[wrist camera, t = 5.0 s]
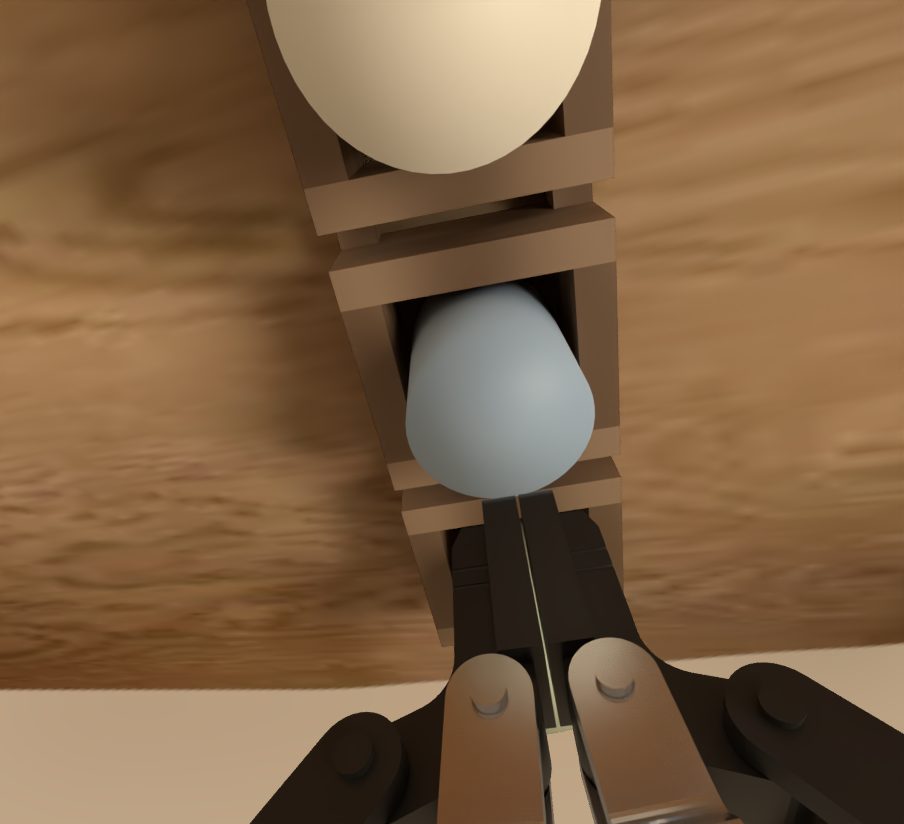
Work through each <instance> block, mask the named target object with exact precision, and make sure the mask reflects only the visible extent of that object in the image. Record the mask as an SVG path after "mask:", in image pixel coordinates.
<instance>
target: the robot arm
mask: <svg viewBox="0 0 904 824" xmlns="http://www.w3.org/2000/svg"><path fill="white" fill-rule="evenodd" d="M518 498H519V504H520V511H521V517H522V523H523V529H524V535H525V541H526V548H527V553H528V559H529V565H530V570H531V576H532V581H533V586H534V592H535V597H536V602H537V607H538V613H539V618H540V623H541V628H542V634H543V639H544V644H545V649H546V655H547V660H548V665H549V670H550V676H551V681H552V686H553V691H554V697H555V702H556V707H557V712H558V718H559V723H560V727H562V726H570V725H572V727H573V731H574V736H575V741H576V746H577V751H578V756H579V764H580V771H581V776H582V780H583V783H584V787H585V791H586V794H587V798H588V801H589V805H590V808H591V812H592V816H593V819H594V823H595V824H904V734H903V733H901V732H900V731H897V730H896V729H894V728H893V727H891V726H889V725H888V724H886V723H884V722H883V721H881V720H879V719H878V718H876V717H874V716H872V715H871V714H869V713H868V712H866V711H864V710H862V709H861V708H859V707H857V706H856V705H854V704H852V703H851V702H849V701H847V700H846V699H844V698H842V697H841V696H839V695H837V694H836V693H834V692H832V691H830V690H829V689H827V688H825V687H824V686H822V685H820V684H819V683H817V682H815V681H814V680H812V679H810V678H809V677H807V676H805V675H803V674H802V673H800V672H798V671H796V670H794V669H791V668H789V667H786V666H783V665H779V664H774V663H753V664H748V665H746V666H743V667H741V668H739V669H738V670H736V671H735V672H734V673H733V674H732V675H731V676H730V678H729V679H725V678H719V677H714V676H707V675H702V674H697V673H691V672H687V671H683V670H680V669H678V668H675V667H673V666H671V665H669V664H667V663H665V662H664V661H662V660H661V659H659V658H658V657H656V656H655V655H654V654H653V653H652V652H651V651H650V650H649V649H648V648H647V647H646V646H645V644H644V643H643V641H642V640H641V638H640V636H639V634H638V632H637V629H636V626H635V624H634V621H633V618H632V615H631V613H630V610H629V607H628V604H627V602H626V599H625V596H624V594H623V591H622V588H621V585H620V583H619V580H618V577H617V575H616V572H615V569H614V568H613V565H612V561H611V558H610V556H609V553H608V550H607V549H606V545H605V542H604V539H603V536H602V534H601V531H600V528H599V526H598V525H597V524H596V523H595V522H594V521H593V520H592V519H591V518H590V517H589V516H588V515H587V514H586V513H585V512H584V511H583V510H578V511H572V512H565V513H559V511H558V508H557V504H556V501H555V497H554V494H553V491H552V489H550V490H544V491H538V492H531V493H525V494H519V495H518ZM482 510H483V520H484V525H483V526H476V527H470V528H463V529H461V530H460V532H459V534H458V536H457V538H456V540H455V543H454V545H453V547H452V571H453V574H452V579H453V617H454V655H455V658H454V667H453V672H452V674H451V677H450V679H449V681H448V683H447V685H446V686H445V688H444V689H443V690H442V692H441V693H440V694H439V695H438V696H437V697H436V698H435V699H434V700H432V701H431V702H430V703H429V704H427V705H425V706H424V707H422V708H420V709H418V710H416V711H414V712H412V713H410V714H408V715H406V716H404V717H402V718H400V719H398V720H396V721H394V722H390V721H389V720H388V719H387V718H386V717H384V716H382V715H380V714H377V713H372V712H360V713H357V714H352V715H350V716H347V717H345V718H343V719H342V720H340V721H338V722H337V723H336V724H335V725H334V726H332V727H331V728H330V729H329V730H328V731H327V732H326V733H325V734H324V736H323V737H322V738H321V739H320V740H319V742H318V743H317V744H316V745H315V746H314V747H313V749H312V750H311V751H310V752H309V754H308V755H307V756H306V757H305V758H304V759H303V761H302V762H301V763H300V764H299V765H298V767H297V768H296V769H295V770H294V771H293V773H292V774H291V775H290V776H289V777H288V779H287V780H286V781H285V782H284V783H283V785H282V786H281V787H280V788H279V789H278V790H277V792H276V793H275V794H274V795H273V796H272V798H271V799H270V800H269V801H268V803H267V804H266V805H265V806H264V807H263V808H262V810H261V811H260V812H259V813H258V814H257V816H256V817H255V818H254V819H253V820H252V822H251V823H250V824H554V814H553V804H552V793H551V782H550V778H551V769H552V768H551V759H550V753H549V747H548V741H547V735H546V729H549V728H557V727H556V721H555V715H554V709H553V703H552V696H551V690H550V684H549V678H548V671H547V665H546V659H545V653H544V647H543V641H542V636H541V630H540V625H539V620H538V614H537V609H536V604H535V598H534V593H533V588H532V582H531V577H530V572H529V566H528V561H527V556H526V550H525V545H524V540H523V534H522V529H521V524H520V518H519V513H518V508H517V502H516V497H515V495H514V496H507V497H501V498H495V499H488V500H482Z"/></svg>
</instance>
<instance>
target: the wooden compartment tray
mask: <svg viewBox="0 0 904 824" xmlns="http://www.w3.org/2000/svg"><path fill="white" fill-rule="evenodd" d="M246 1H247V4H248V8H249V11H250V14H251V18H252V21H253V24H254V27H255V31H256V34H257V37H258V41H259V44H260V47H261V51H262V54H263V57H264V60H265V64H266V67H267V70H268V74H269V77H270V80H271V84H272V87H273V90H274V94H275V97H276V100H277V103H278V107H279V110H280V113H281V117H282V120H283V123H284V127H285V130H286V133H287V137H288V140H289V143H290V146H291V150H292V153H293V156H294V160H295V163H296V166H297V170H298V173H299V176H300V179H301V183H302V186H303V189H304V193H305V196H306V199H307V203H308V206H309V209H310V213H311V216H312V219H313V222H314V226H315V229H316V232H317V236H321V235H326V234H331V233H336V234H337V237H338V241H339V244H340V248H341V251H340V253H339V255H338V256H337V258H336V260H335V262H334V263H333V265H332V267H331V269H330V270H329V275H330V279H331V282H332V285H333V289H334V292H335V295H336V298H337V302H338V305H339V308H340V312H341V315H342V318H343V322H344V325H345V328H346V332H347V335H348V338H349V341H350V345H351V348H352V351H353V355H354V358H355V361H356V365H357V368H358V371H359V374H360V378H361V381H362V384H363V388H364V391H365V394H366V398H367V401H368V404H369V408H370V411H371V414H372V417H373V421H374V424H375V427H376V431H377V434H378V437H379V441H380V444H381V447H382V451H383V454H384V457H385V460H386V464H387V467H388V470H389V474H390V477H391V480H392V484H393V487H394V490H395V491H397V490H403V493H402V506H401V513H402V517H403V520H404V523H405V527H406V530H407V533H408V536H409V540H410V543H411V546H412V550H413V553H414V556H415V560H416V563H417V566H418V569H419V573H420V576H421V579H422V583H423V586H424V589H425V593H426V596H427V599H428V603H429V606H430V609H431V612H432V616H433V619H434V622H435V626H436V629H437V632H438V636H439V639H440V642H441V646H442V647H446V646H453V645H454V617H453V579H452V574H453V571H452V547H453V545H454V543H455V537H454V533H453V529H454V528H460V527H467V526H473V525H480V524H484V520H483V510H482V500H488V499H492V498H479V497H473V496H469V495H465V494H462V493H459V492H456V491H454V490H451V489H449V488H447V487H446V486H444V485H442V484H440V483H439V482H437V481H436V480H435V479H433V478H432V477H431V476H430V475H429V474H428V473H427V472H426V471H424V469H423V468H422V467H421V466H420V464H419V463H418V462H417V460H416V458H415V457H414V455H413V453H412V451H411V448H410V446H409V443H408V439H407V435H406V424H405V423H406V410H407V398H408V386H409V374H410V362H411V356H410V352H409V348H408V343H407V339H406V335H405V331H404V327H403V323H402V319H401V315H400V310H399V306H398V301H404V300H409V299H414V298H420V297H425V296H431V295H436V294H442V293H447V292H452V291H458V290H463V289H469V288H474V287H479V286H485V285H490V284H496V283H501V282H506V281H512V280H517V279H523V278H528V277H533V276H539V275H544V274H550V273H553V280H554V292H555V303H556V315H557V325H558V327H559V329H560V331H561V333H562V334H563V336H564V338H565V340H566V342H567V344H568V346H569V348H570V350H571V352H572V354H573V355H574V357H575V359H576V361H577V363H578V365H579V367H580V369H581V371H582V373H583V375H584V376H585V378H586V380H587V382H588V384H589V386H590V389H591V392H592V395H593V400H594V405H595V420H594V427H593V431H592V434H591V438H590V440H589V442H588V444H587V447H586V448H585V450H584V452H583V453H582V455H581V456H580V458H579V459H578V460H577V461H576V463H575V464H574V465H573V466H572V467H571V468H570V469H569V470H568V471H567V472H566V473H564V474H563V475H562V476H561V477H559V478H558V479H557V480H555V481H553V482H552V483H550V484H549V485H547V486H545V487H542V488H540V489H538V490H536V491H533V492H538V491H544V490H550V489H552V491H553V494H554V497H555V501H556V504H557V508H558V511H559V512H564V511H570V510H573V511H578V510H583V511H584V512H585V513H586V514H587V515H588V516H589V517H590V518H591V519H592V520H593V521H594V522H595V523H596V524H597V525H598V526H599V528H600V531H601V534H602V536H603V539H604V542H605V545H606V549H607V550H608V553H609V556H610V558H611V561H612V565H613V568H614V569H615V572H616V575H617V577H618V580H619V583H620V585H621V588H622V591H623V548H622V502H621V476H620V474H619V472H618V470H617V468H616V466H615V464H614V462H613V460H612V457H611V456H614V455H620V411H619V366H618V320H617V275H616V229H615V217H614V216H612V215H611V214H610V213H608V212H607V211H605V210H604V209H603V208H601V207H600V206H598V205H597V204H596V203H594V202H593V196H592V182H597V181H602V180H607V179H613V178H614V138H613V93H612V47H611V2H610V0H601V3H600V8H599V13H598V18H597V23H596V28H595V31H594V34H593V37H592V41H591V44H590V47H589V50H588V53H587V55H586V58H585V60H584V63H583V65H582V67H581V70H580V72H579V74H578V76H577V78H576V80H575V81H574V83H573V85H572V87H571V89H570V90H569V92H568V94H567V96H566V97H565V99H564V100H563V101H562V103H561V104H560V105H559V107H558V108H557V110H556V111H555V112H554V114H553V115H552V116H551V117H550V118H549V119H548V121H547V122H546V123H545V124H544V125H543V126H542V127H541V128H540V129H539V130H538V131H537V132H536V133H535V134H534V135H533V136H531V137H530V138H529V139H528V140H527V141H526V142H524V143H523V144H522V145H521V146H519V147H518V148H516V149H514V150H513V151H511V152H510V153H508V154H507V155H505V156H503V157H501V158H499V159H497V160H495V161H493V162H491V163H489V164H487V165H483V166H480V167H477V168H474V169H471V170H467V171H462V172H456V173H450V174H426V173H417V172H410V171H406V170H402V169H398V168H394V167H392V166H389V165H387V164H384V163H382V162H379V161H374V162H370V163H365V164H364V162H363V158H362V154H361V152H360V151H359V150H357V149H356V148H354V147H353V146H352V145H350V144H349V143H348V142H346V141H345V140H344V139H342V138H341V137H340V136H339V135H338V134H337V133H335V132H334V131H333V130H332V129H331V128H330V127H329V126H328V125H327V124H326V123H325V122H324V121H323V120H322V118H321V117H320V116H319V115H318V114H317V112H316V111H315V110H314V109H313V108H312V106H311V105H310V104H309V103H308V101H307V100H306V98H305V96H304V95H303V93H302V92H301V90H300V89H299V87H298V86H297V84H296V83H295V81H294V79H293V77H292V75H291V73H290V71H289V69H288V67H287V65H286V63H285V61H284V59H283V56H282V53H281V51H280V48H279V46H278V43H277V40H276V38H275V35H274V31H273V27H272V24H271V20H270V16H269V13H268V8H267V2H266V0H246ZM541 192H546V196H547V202H544V203H539V204H534V205H529V206H524V207H519V208H513V209H508V210H503V211H498V212H493V213H488V214H482V215H477V216H472V217H467V218H462V219H457V220H452V221H446V222H441V223H436V224H431V225H426V226H421V227H415V228H410V229H405V230H400V231H395V232H390V233H384V234H381V232H380V228H379V224H382V223H387V222H392V221H397V220H403V219H408V218H413V217H418V216H423V215H428V214H433V213H438V212H444V211H449V210H454V209H459V208H464V207H469V206H474V205H479V204H485V203H490V202H495V201H500V200H505V199H510V198H515V197H520V196H526V195H531V194H536V193H541ZM530 493H531V492H530ZM516 502H517V508H518V513H519V518H522V517H521V511H520V504H519V498H518V496H516Z"/></svg>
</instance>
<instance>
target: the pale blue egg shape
mask: <svg viewBox="0 0 904 824" xmlns="http://www.w3.org/2000/svg"><path fill="white" fill-rule="evenodd" d="M594 420H595V405H594V400H593V395H592V392H591V389H590V386H589V384H588V382H587V380H586V378H585V376H584V375H583V373H582V371H581V369H580V367H579V365H578V363H577V361H576V359H575V357H574V355H573V354H572V352H571V350H570V348H569V346H568V344H567V342H566V340H565V338H564V336H563V334H562V333H561V331H560V329H559V327H558V325H557V323H556V321H555V319H554V317H553V315H552V314H551V312H550V310H549V308H548V306H547V304H546V302H545V300H544V299H543V298H542V296H541V295H540V294H539V293H538V292H537V291H536V290H535V289H534V288H533V287H532V286H531V285H529V284H528V283H527V282H525V281H524V280H522V279H517V280H512V281H506V282H501V283H496V284H490V285H485V286H479V287H474V288H469V289H463V290H458V291H452V292H447V293H442V294H436V295H431V296H429V297H428V298H427V299H426V301H425V302H424V303H423V305H422V307H421V309H420V310H419V312H418V315H417V317H416V320H415V324H414V329H413V338H412V350H411V362H410V374H409V386H408V398H407V410H406V423H405V424H406V435H407V439H408V443H409V446H410V448H411V451H412V453H413V455H414V457H415V458H416V460H417V462H418V463H419V464H420V466H421V467H422V468H423V469H424V471H426V472H427V473H428V474H429V475H430V476H431V477H432V478H433V479H435V480H436V481H437V482H439V483H440V484H442V485H444V486H446V487H447V488H449V489H451V490H454V491H456V492H459V493H462V494H465V495H469V496H473V497H479V498H492V499H495V498H501V497H507V496H514V495H515V497H516V496H518V495H519V494H525V493H530V492H533V491H536V490H538V489H540V488H542V487H545V486H547V485H549V484H550V483H552V482H553V481H555V480H557V479H558V478H559V477H561V476H562V475H563V474H564V473H566V472H567V471H568V470H569V469H570V468H571V467H572V466H573V465H574V464H575V463H576V461H577V460H578V459H579V458H580V456H581V455H582V453H583V452H584V450H585V448H586V447H587V444H588V442H589V440H590V438H591V434H592V431H593V427H594Z"/></svg>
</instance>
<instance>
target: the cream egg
mask: <svg viewBox="0 0 904 824" xmlns="http://www.w3.org/2000/svg"><path fill="white" fill-rule="evenodd" d="M266 2H267V8H268V13H269V16H270V20H271V24H272V27H273V31H274V35H275V38H276V40H277V43H278V46H279V48H280V51H281V53H282V56H283V59H284V61H285V63H286V65H287V67H288V69H289V71H290V73H291V75H292V77H293V79H294V81H295V83H296V84H297V86H298V87H299V89H300V90H301V92H302V93H303V95H304V96H305V98H306V100H307V101H308V103H309V104H310V105H311V106H312V108H313V109H314V110H315V111H316V112H317V114H318V115H319V116H320V117H321V118H322V120H323V121H324V122H325V123H326V124H327V125H328V126H329V127H330V128H331V129H332V130H333V131H334V132H335V133H337V134H338V135H339V136H340V137H341V138H342V139H344V140H345V141H346V142H348V143H349V144H350V145H352V146H353V147H354V148H356V149H357V150H359V151H360V152H362V153H364V154H366V155H367V156H369V157H371V158H373V159H374V160H377V161H379V162H382V163H384V164H387V165H389V166H392V167H394V168H398V169H402V170H406V171H410V172H417V173H426V174H450V173H456V172H462V171H467V170H471V169H474V168H477V167H480V166H483V165H487V164H489V163H491V162H493V161H495V160H497V159H499V158H501V157H503V156H505V155H507V154H508V153H510V152H511V151H513V150H514V149H516V148H518V147H519V146H521V145H522V144H523V143H524V142H526V141H527V140H528V139H529V138H530V137H531V136H533V135H534V134H535V133H536V132H537V131H538V130H539V129H540V128H541V127H542V126H543V125H544V124H545V123H546V122H547V121H548V119H549V118H550V117H551V116H552V115H553V114H554V112H555V111H556V110H557V108H558V107H559V105H560V104H561V103H562V101H563V100H564V99H565V97H566V96H567V94H568V92H569V90H570V89H571V87H572V85H573V83H574V81H575V80H576V78H577V76H578V74H579V72H580V70H581V67H582V65H583V63H584V60H585V58H586V55H587V53H588V50H589V47H590V44H591V41H592V37H593V34H594V31H595V28H596V23H597V18H598V13H599V8H600V3H601V0H266Z"/></svg>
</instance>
